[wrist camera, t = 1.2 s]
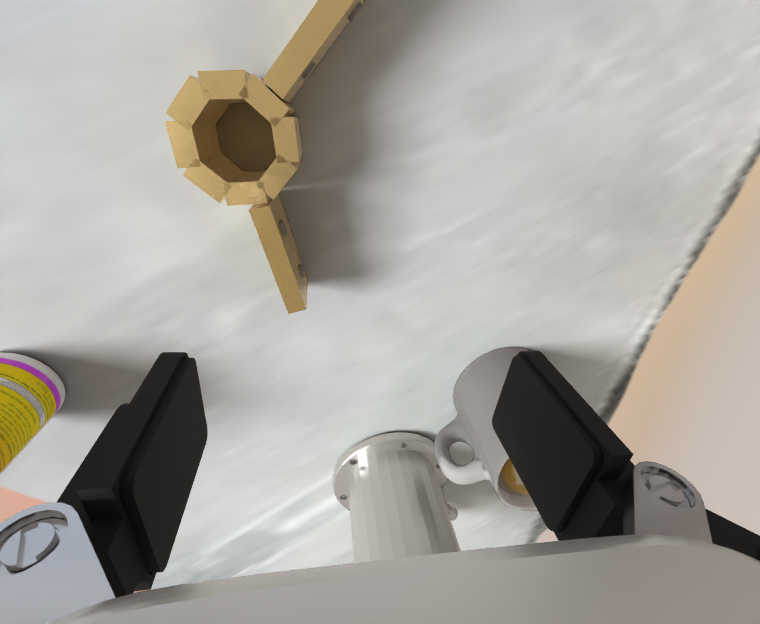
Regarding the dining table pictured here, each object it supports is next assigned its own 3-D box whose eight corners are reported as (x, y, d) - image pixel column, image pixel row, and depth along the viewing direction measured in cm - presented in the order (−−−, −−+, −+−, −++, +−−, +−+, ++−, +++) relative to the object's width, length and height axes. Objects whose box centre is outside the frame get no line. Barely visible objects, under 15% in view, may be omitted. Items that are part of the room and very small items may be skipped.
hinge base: (405, 26, 22) (426, 4, 18) (263, 208, 26) (252, 227, 22) (322, -79, 20) (323, -135, 15) (177, 141, 23) (144, 146, 19)
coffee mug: (549, 336, 35) (626, 409, 26) (544, 412, 40) (607, 494, 31) (414, 367, 34) (446, 452, 26) (425, 440, 39) (455, 532, 31)
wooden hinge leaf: (258, 195, 25) (246, 210, 21) (279, 190, 25) (271, 204, 21) (291, 284, 29) (286, 314, 24) (309, 279, 29) (308, 308, 24)
